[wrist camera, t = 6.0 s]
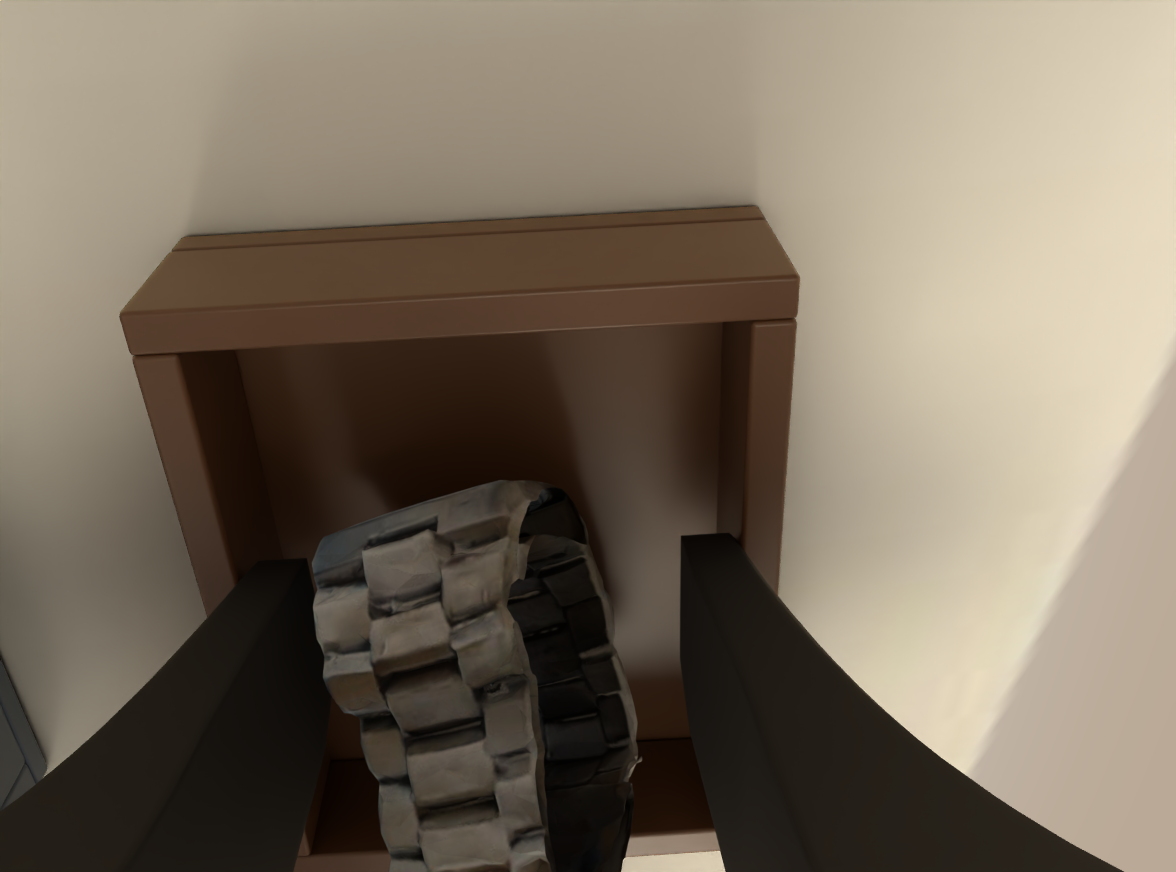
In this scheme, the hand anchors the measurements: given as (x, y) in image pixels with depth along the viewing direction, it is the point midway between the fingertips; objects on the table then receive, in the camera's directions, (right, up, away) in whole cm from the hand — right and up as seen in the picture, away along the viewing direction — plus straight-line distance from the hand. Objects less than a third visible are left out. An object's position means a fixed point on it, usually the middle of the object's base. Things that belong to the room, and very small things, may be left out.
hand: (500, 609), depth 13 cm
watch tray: (0, +1, +2) cm, 2 cm away
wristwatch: (0, 0, +1) cm, 1 cm away
